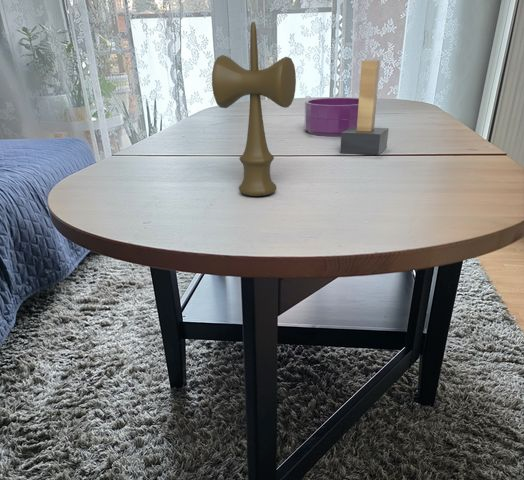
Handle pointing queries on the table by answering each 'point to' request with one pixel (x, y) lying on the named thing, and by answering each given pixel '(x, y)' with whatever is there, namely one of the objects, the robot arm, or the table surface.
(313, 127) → the bowl
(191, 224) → the table surface
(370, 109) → the brush
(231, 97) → the kendama
